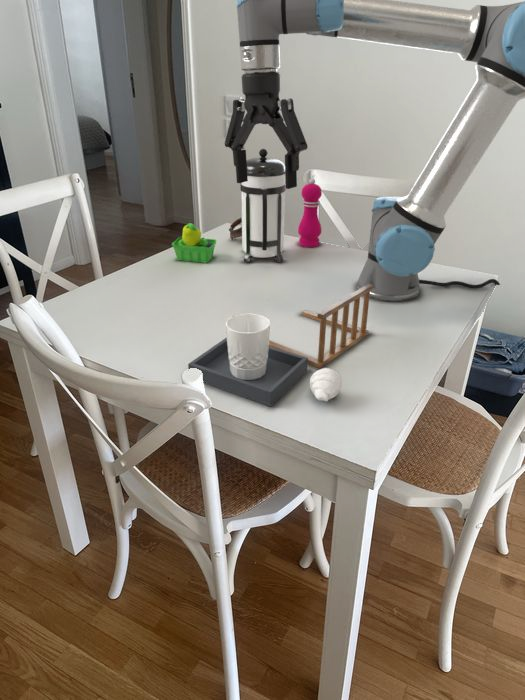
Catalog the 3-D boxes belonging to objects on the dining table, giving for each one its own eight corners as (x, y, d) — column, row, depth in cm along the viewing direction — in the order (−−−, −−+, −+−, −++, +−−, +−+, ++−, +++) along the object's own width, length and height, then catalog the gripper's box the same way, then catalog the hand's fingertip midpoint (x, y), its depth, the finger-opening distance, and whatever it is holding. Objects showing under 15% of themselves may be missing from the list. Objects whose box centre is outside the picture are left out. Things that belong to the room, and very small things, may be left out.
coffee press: (224, 256, 157) (220, 148, 143) (264, 245, 167) (264, 142, 152) (264, 272, 146) (265, 157, 132) (304, 259, 156) (309, 150, 141)
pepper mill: (324, 246, 166) (328, 180, 156) (302, 248, 164) (305, 181, 154) (315, 239, 172) (319, 175, 162) (294, 241, 170) (296, 176, 160)
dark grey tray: (307, 371, 101) (308, 357, 100) (270, 406, 91) (270, 392, 90) (230, 347, 109) (230, 334, 108) (188, 377, 99) (187, 363, 98)
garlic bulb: (305, 409, 91) (306, 382, 88) (310, 390, 96) (311, 364, 93) (337, 413, 90) (340, 386, 87) (340, 393, 95) (343, 367, 92)
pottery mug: (263, 246, 167) (250, 225, 162) (236, 257, 171) (223, 237, 166) (265, 226, 176) (253, 205, 171) (240, 236, 179) (228, 217, 174)
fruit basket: (218, 256, 158) (216, 217, 152) (208, 266, 150) (206, 226, 145) (181, 253, 160) (178, 215, 155) (170, 263, 153) (167, 223, 147)
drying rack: (305, 313, 124) (308, 266, 118) (368, 334, 115) (374, 285, 109) (254, 342, 111) (254, 292, 106) (319, 368, 102) (323, 315, 97)
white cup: (244, 356, 105) (243, 309, 100) (277, 368, 101) (278, 320, 96) (218, 373, 99) (216, 325, 94) (252, 387, 95) (252, 337, 90)
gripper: (202, 74, 108) (211, 182, 118) (300, 69, 93) (302, 193, 103) (227, 73, 113) (235, 177, 123) (325, 68, 98) (324, 186, 108)
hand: (265, 184), depth 113 cm, fingers open, 13 cm apart
